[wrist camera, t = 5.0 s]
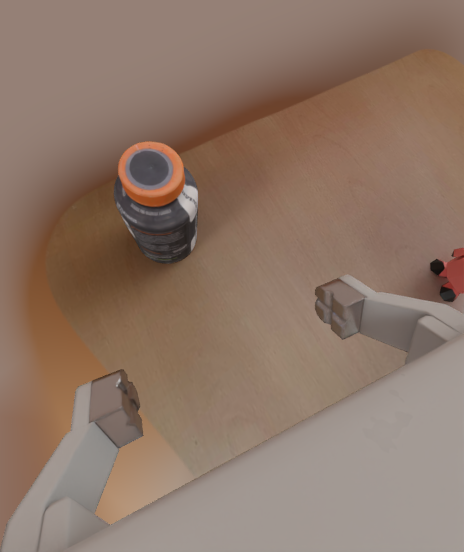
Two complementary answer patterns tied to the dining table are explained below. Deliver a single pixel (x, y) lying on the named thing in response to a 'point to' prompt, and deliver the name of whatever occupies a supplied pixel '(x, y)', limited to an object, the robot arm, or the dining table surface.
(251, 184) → the dining table surface
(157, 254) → the pill bottle
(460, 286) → the cat figurine
